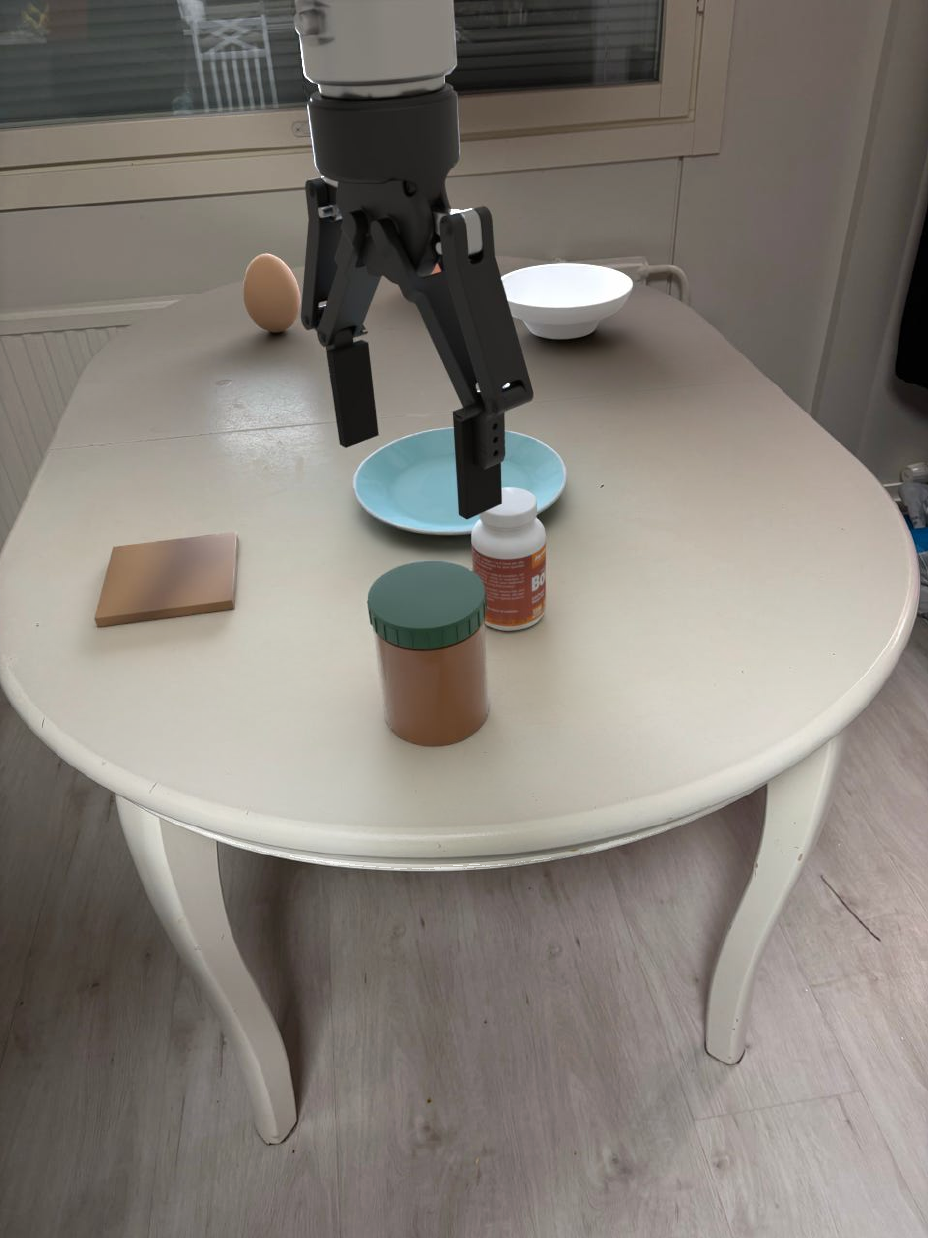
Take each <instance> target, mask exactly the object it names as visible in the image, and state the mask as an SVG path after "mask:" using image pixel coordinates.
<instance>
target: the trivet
mask: <svg viewBox="0 0 928 1238" xmlns="http://www.w3.org/2000/svg"><path fill="white" fill-rule="evenodd" d="M238 553H239V536H238V532H237V531H229V532H222V533H221V532H220V533H213V534H205V535H198V536H189V537H181V538H174V539H173V538H172V539H165V540H157V541H150V542H149V541H148V542H142V543H141V542H140V543H134V544H126V545H118V546H113V547H112V550H111V555H110V558H109V561H108V565H107V568H106V569H107V570H106V573H105V577H104V581H103V585H102V588H101V592H100V595H99V599H98V602H97V603H98V604H97V607H96V610H95V614H94V621H95V625H96V627H97V628H100V627H102V628H103V627H107V626H115V625H116V626H117V625H124V624H131V623H138V622H147V621H153V620H162V619H170V618H176V617H183V616H190V615H197V614H206V613H207V614H208V613H213V612H222V611H230V610H234V609H235V603H236V602H235V601H236V584H237V572H238V571H237V569H238Z"/></svg>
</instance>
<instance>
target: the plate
mask: <svg viewBox="0 0 928 1238" xmlns="http://www.w3.org/2000/svg"><path fill="white" fill-rule="evenodd" d="M504 439H505V458H504V461H503V462H501V484H502V488H504V487H514V488H520V489H524V490H527V491H529V492H531V493H532V494H533V495H534V496H535V497H536V500H537V516H538V515H539V514H541V513H543V512H544V511H546V510H547V509H549V508H550V507H551V506H552V505H554V504H555V503H556V502H557V500H559V498H560V497H561V495H562V494H563V492H564V491H565V488H566V485H567V482H568V481H567V480H568V470H567V466H566V464H565V461H564V460H563V458H562V457H561V456H560V454H558V452H557V451H556V450H555V449H553V448H552V447H551V446H549V445H548V444H546V443H545V442H543V441H541V440H539V439H536V438H535V437H532V436H530V435H528V434H523V433H521V432H516V431H511V430H507V429H505V438H504ZM352 491H353V494H354V497H355V500H356V501H357V503H358V504H359V506H360V507H361V508H362V509H363V510H364V511H365V512H366V513H367V514H368V515H370V516H372V517H373V518H374V519H376V520H378V521H379V522H381V523H383V524H386V525H388V526H391V527H392V528H395V529H399V530H403V531H407V532H411V533H416V534H424V535H431V536H465V535H466V536H467V535H471V534H472V530H473V527H474V525H475V524H476V522H477V521H478V520H479V519H480V517H479V514H478V515H476V516H474V517H472V518H470V519H468V520H466V519H465V518H463V517H461V516H460V515H459V509H458V492H457V475H456V459H455V442H454V426H451V427H440V428H434V429H429V430H424V431H420V432H419V431H418V432H417V433H412V434H410V435H406V436H403V437H401V438H398V439H395V440H393V441H392V442H389V443H387V444H385V445H384V446H382V447H379V448H378V449H377V450H375V451H373V452H372V453H371V454H370V455H368V456H367V457H366V458H365V459H364V460H363V461H362V462H361V463H360V464H359V466H358V467H357V469H356V470H355V472H354V475H353V478H352Z"/></svg>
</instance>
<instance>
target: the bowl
mask: <svg viewBox="0 0 928 1238" xmlns="http://www.w3.org/2000/svg"><path fill="white" fill-rule="evenodd" d="M501 279H502V282H503V286H504V289H505V293H506V296H507V300H508V303H509V307H510V311H511V314H512V318H515V319H518V320H519V321H522V322H523V323H524V325H525V326H526V328H527V329H528V330H529V332H530V333H532V334H533V335H535V336H537V337H541V338H544V339H551V340H570V339H577V338H582V337H585V336H587V335H590V334H592V333H593V332H594V331H595V330H596V329H597V328H598V326H599V324H600V323H601V321H602V320H603V319H606V318H609V317H611V316H613V315H615V314H616V313H618V312H619V311H620V310H621V309H622V308H623V307H624V306H625V304H626V303H627V302H628V300H629V297H630V296H631V293H632V291H633V287H634V283H633V280H632V279H631V278H630V277H629V276H628V275H626V274H625V273H623V272H621V271H619V270H616V269H614V268H609V267H605V266H600V265H595V264H587V263H585V264H584V263H551V264H541V265H534V266H529V267H525V268H521V269H518V270H514V271H510V272H509V273H507V274H504V275H503V276H501Z"/></svg>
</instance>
